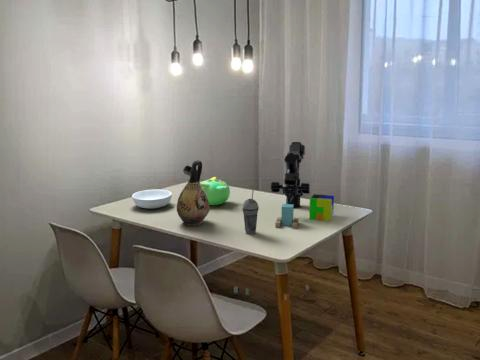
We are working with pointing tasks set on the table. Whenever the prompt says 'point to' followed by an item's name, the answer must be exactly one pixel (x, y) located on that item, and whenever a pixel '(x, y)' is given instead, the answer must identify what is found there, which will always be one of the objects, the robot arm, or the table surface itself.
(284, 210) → the block
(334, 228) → the table surface
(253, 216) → the beverage cup
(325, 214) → the puzzle toy
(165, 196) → the serving bowl
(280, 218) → the chute
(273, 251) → the table surface
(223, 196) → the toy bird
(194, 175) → the ceramic jug
